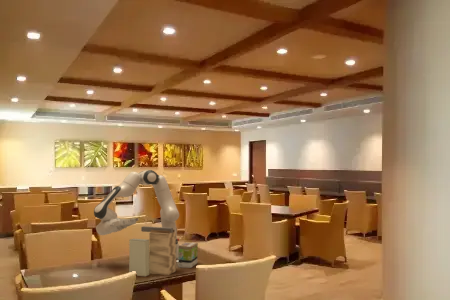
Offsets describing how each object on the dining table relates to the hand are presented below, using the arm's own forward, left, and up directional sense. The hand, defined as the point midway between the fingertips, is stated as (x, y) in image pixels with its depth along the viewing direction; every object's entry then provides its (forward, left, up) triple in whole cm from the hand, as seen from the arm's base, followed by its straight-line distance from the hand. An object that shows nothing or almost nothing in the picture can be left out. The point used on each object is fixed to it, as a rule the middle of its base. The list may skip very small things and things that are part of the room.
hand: (134, 219), depth 276 cm
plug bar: (0, +18, -7) cm, 19 cm away
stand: (0, +22, -33) cm, 40 cm away
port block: (+11, +11, -33) cm, 37 cm away
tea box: (-23, +29, -34) cm, 50 cm away
